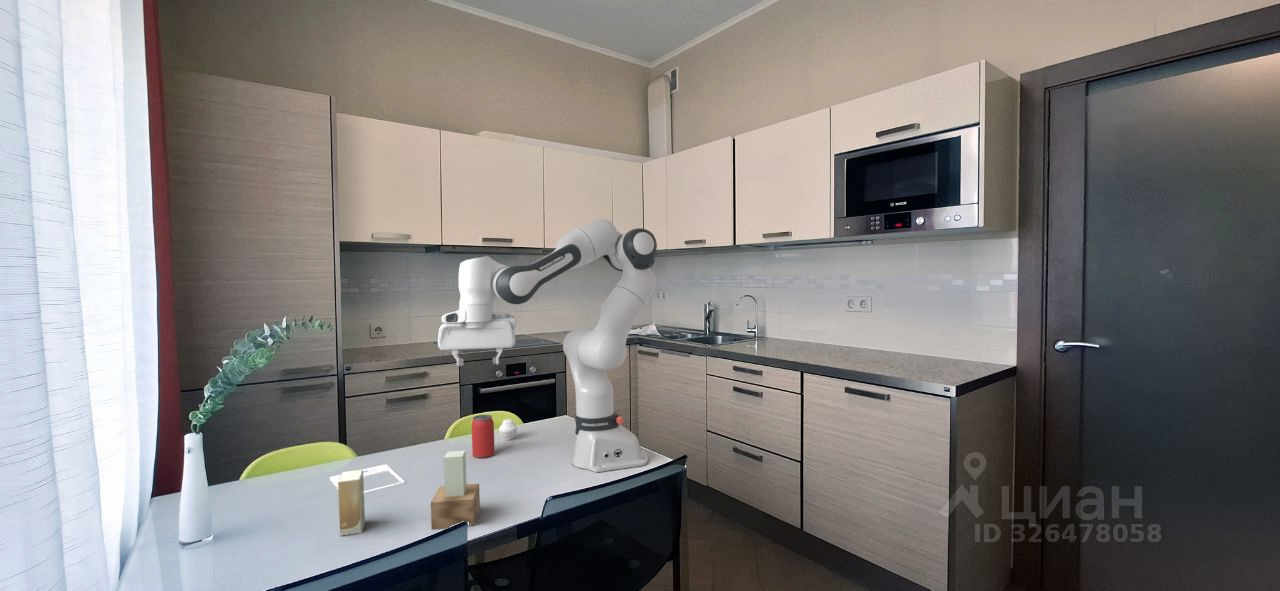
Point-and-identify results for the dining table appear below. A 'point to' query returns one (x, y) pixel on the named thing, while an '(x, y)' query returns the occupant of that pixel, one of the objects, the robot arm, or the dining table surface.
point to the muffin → (508, 429)
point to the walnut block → (455, 507)
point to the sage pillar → (455, 473)
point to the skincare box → (351, 502)
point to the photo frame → (372, 472)
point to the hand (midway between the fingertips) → (478, 365)
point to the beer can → (483, 436)
